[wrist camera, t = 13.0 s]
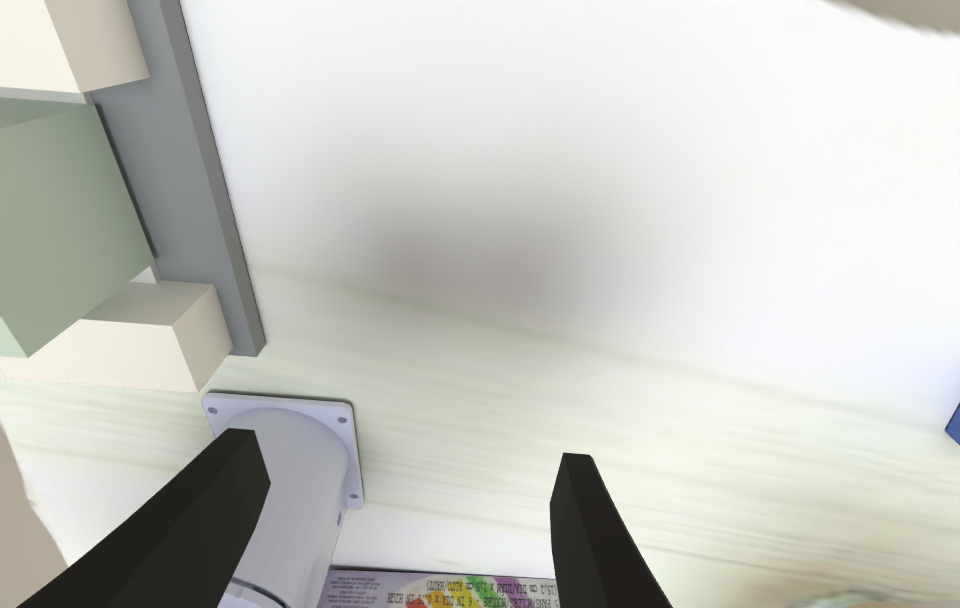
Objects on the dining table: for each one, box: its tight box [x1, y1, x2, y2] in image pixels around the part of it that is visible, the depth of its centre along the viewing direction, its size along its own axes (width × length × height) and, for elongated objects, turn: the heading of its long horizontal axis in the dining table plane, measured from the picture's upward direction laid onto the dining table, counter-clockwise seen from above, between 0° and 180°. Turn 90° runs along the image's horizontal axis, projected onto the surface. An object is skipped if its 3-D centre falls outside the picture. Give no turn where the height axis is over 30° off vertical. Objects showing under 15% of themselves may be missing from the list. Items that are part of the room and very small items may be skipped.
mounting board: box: [0, 0, 266, 357], centre depth 18 cm, size 15×10×1 cm, turn 176°
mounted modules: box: [0, 0, 233, 393], centre depth 16 cm, size 14×8×3 cm, turn 176°
